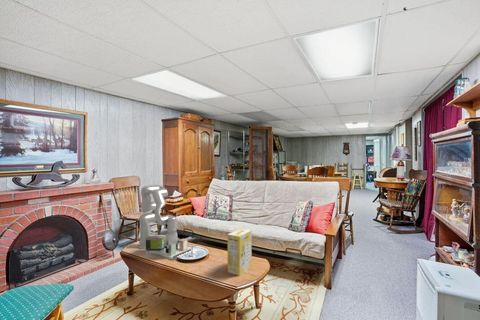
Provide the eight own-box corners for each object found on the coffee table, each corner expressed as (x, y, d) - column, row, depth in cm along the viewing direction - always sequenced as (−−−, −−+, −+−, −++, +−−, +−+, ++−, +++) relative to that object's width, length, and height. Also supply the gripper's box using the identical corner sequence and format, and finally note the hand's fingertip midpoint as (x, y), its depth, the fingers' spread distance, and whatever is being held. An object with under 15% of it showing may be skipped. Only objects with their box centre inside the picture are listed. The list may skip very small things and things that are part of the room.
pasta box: (240, 263, 186) (240, 228, 187) (251, 266, 181) (251, 230, 181) (227, 272, 171) (227, 234, 171) (239, 275, 165) (239, 236, 166)
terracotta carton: (179, 250, 208) (179, 240, 209) (183, 248, 213) (183, 238, 213) (183, 251, 206) (183, 241, 206) (187, 249, 210) (187, 239, 210)
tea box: (166, 250, 212) (166, 234, 212) (161, 255, 202) (161, 238, 202) (150, 250, 213) (151, 234, 213) (145, 254, 203) (145, 237, 203)
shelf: (160, 255, 201) (160, 250, 201) (178, 248, 217) (178, 243, 217) (173, 260, 191) (173, 254, 191) (191, 252, 208) (191, 247, 208)
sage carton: (171, 256, 195) (171, 245, 195) (167, 254, 198) (167, 244, 198) (176, 254, 199) (176, 243, 199) (172, 252, 202) (172, 242, 202)
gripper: (176, 228, 208) (176, 247, 208) (160, 232, 194) (160, 253, 193) (182, 229, 204) (182, 248, 203) (166, 234, 189) (166, 255, 189)
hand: (171, 251), depth 198 cm, fingers open, 9 cm apart
